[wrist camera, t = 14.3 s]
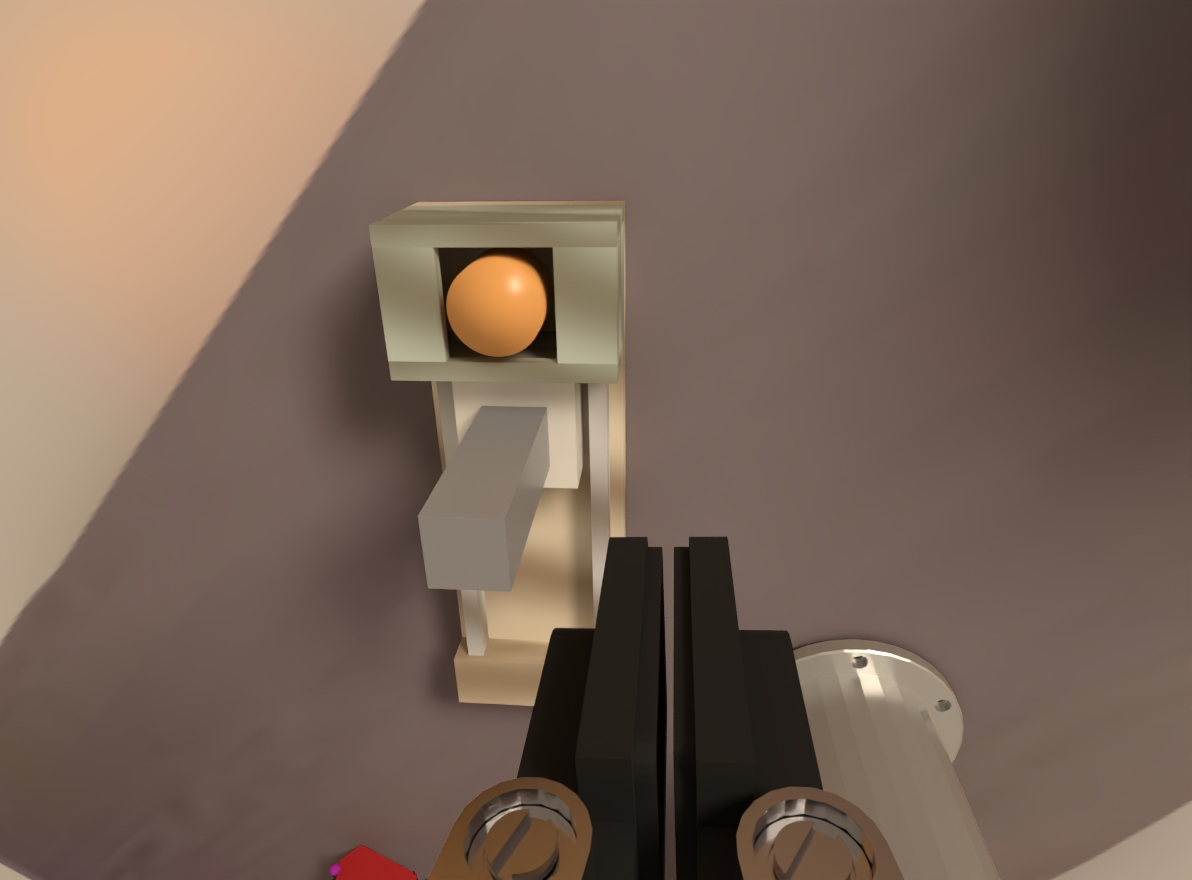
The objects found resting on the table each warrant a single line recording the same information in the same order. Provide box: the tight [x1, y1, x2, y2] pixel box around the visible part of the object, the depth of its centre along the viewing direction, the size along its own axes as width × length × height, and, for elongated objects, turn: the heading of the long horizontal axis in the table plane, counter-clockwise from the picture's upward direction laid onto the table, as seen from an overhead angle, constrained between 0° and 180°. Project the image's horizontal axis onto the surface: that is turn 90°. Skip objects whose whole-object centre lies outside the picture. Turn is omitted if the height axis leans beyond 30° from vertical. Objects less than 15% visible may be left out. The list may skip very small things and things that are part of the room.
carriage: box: [418, 381, 584, 592], centre depth 29 cm, size 5×5×12 cm
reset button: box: [446, 247, 554, 357], centre depth 29 cm, size 4×4×3 cm
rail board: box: [369, 201, 626, 706], centre depth 35 cm, size 26×9×6 cm, turn 1°
